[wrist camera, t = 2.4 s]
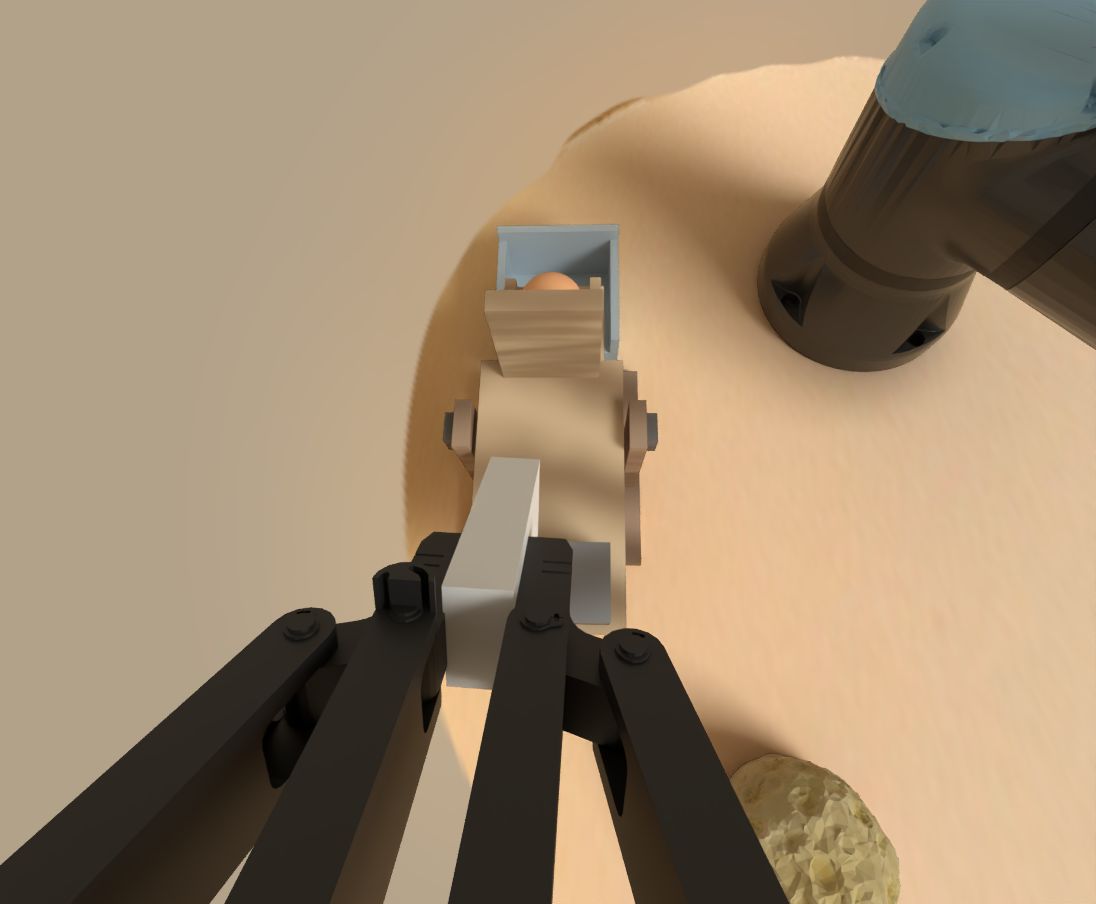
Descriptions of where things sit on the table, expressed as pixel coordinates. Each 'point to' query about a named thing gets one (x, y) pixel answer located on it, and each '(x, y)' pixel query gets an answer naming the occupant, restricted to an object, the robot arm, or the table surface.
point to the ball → (551, 282)
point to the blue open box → (566, 263)
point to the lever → (562, 432)
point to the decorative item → (817, 833)
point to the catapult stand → (636, 443)
